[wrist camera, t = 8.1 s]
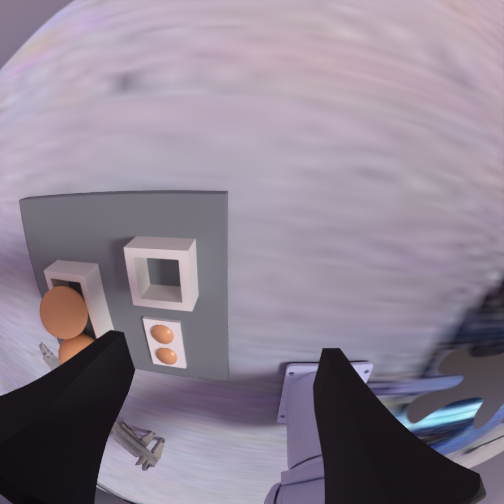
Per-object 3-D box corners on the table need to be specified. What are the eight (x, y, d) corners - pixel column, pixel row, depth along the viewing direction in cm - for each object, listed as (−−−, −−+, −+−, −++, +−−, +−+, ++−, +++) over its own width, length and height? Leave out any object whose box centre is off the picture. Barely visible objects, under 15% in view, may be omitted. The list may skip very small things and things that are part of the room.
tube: (198, 295, 19) (192, 311, 18) (143, 290, 19) (133, 305, 18) (195, 238, 18) (187, 250, 16) (136, 236, 18) (123, 247, 16)
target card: (186, 365, 22) (185, 370, 22) (154, 361, 22) (152, 365, 22) (180, 320, 20) (178, 324, 20) (144, 316, 20) (141, 319, 20)
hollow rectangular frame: (122, 357, 23) (114, 372, 21) (85, 349, 23) (76, 362, 21) (97, 263, 19) (84, 275, 17) (57, 259, 19) (43, 270, 17)
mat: (228, 373, 24) (227, 381, 23) (66, 344, 24) (62, 350, 23) (227, 191, 17) (225, 194, 17) (26, 197, 18) (19, 200, 17)
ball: (101, 323, 20) (78, 355, 16) (65, 315, 20) (41, 343, 16) (90, 279, 18) (61, 308, 14) (53, 274, 18) (23, 299, 14)
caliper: (166, 437, 31) (156, 474, 25) (162, 439, 31) (151, 475, 25) (43, 341, 25) (16, 374, 19) (41, 344, 25) (15, 377, 20)
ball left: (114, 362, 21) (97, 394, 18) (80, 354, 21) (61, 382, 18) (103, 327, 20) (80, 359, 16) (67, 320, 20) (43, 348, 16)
